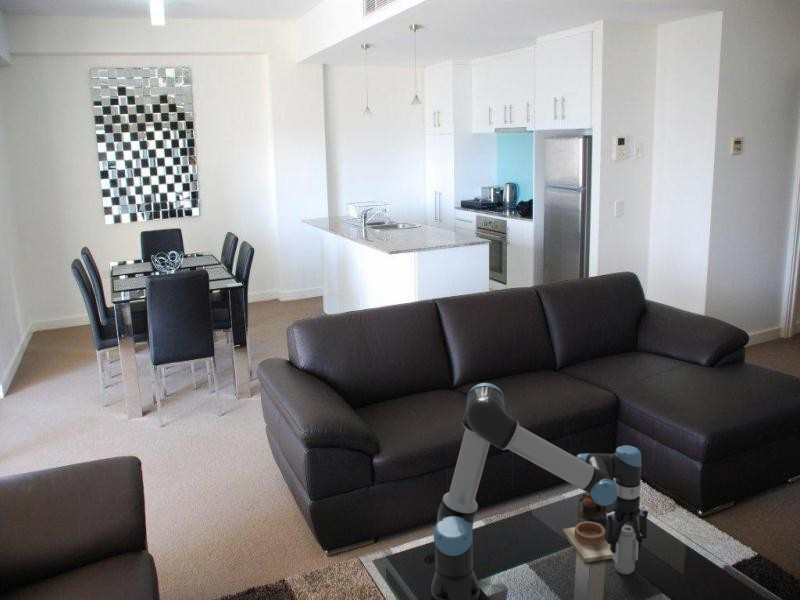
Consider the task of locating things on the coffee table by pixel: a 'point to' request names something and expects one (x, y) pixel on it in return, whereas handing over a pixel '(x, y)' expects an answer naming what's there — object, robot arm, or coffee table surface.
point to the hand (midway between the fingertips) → (624, 559)
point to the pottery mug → (591, 507)
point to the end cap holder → (589, 541)
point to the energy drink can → (626, 550)
